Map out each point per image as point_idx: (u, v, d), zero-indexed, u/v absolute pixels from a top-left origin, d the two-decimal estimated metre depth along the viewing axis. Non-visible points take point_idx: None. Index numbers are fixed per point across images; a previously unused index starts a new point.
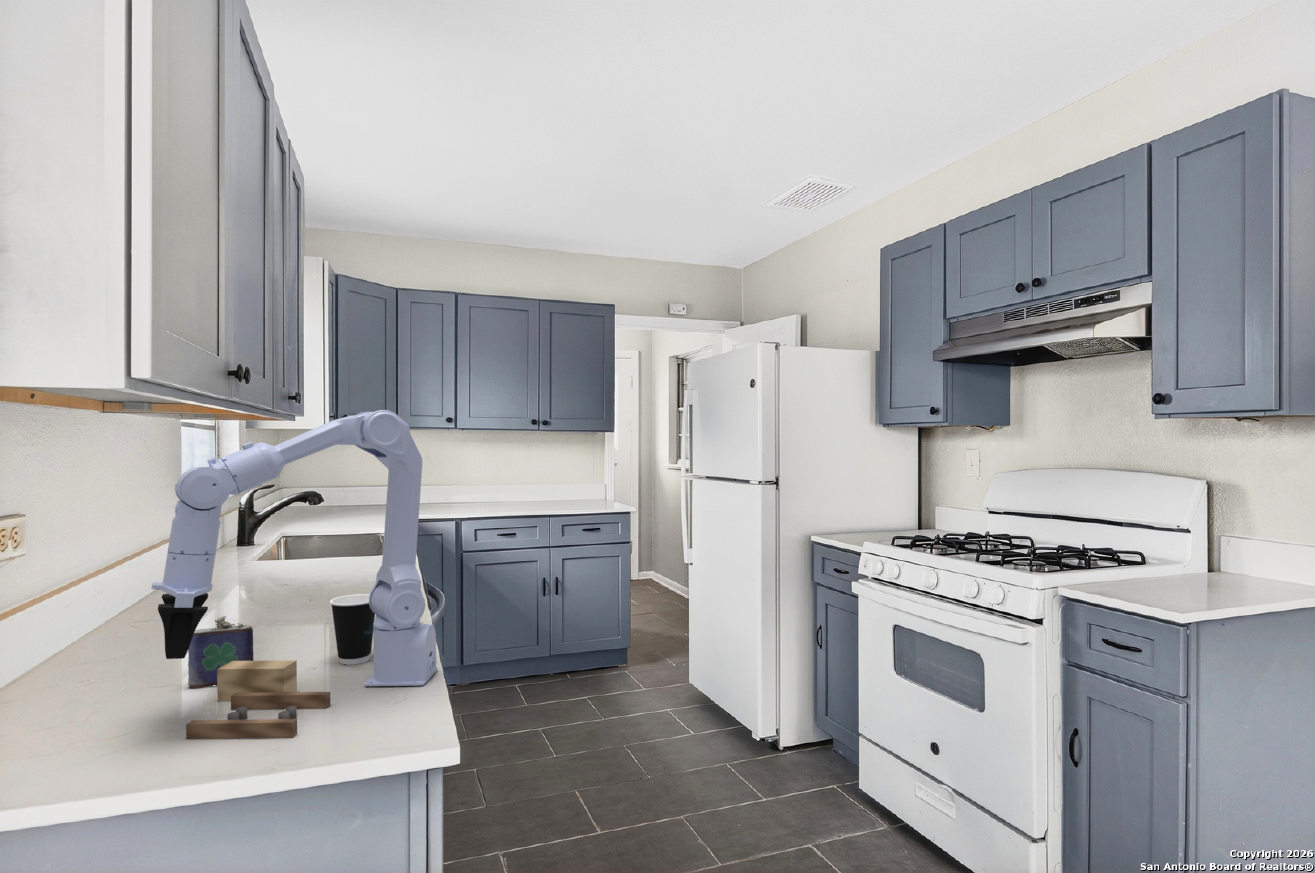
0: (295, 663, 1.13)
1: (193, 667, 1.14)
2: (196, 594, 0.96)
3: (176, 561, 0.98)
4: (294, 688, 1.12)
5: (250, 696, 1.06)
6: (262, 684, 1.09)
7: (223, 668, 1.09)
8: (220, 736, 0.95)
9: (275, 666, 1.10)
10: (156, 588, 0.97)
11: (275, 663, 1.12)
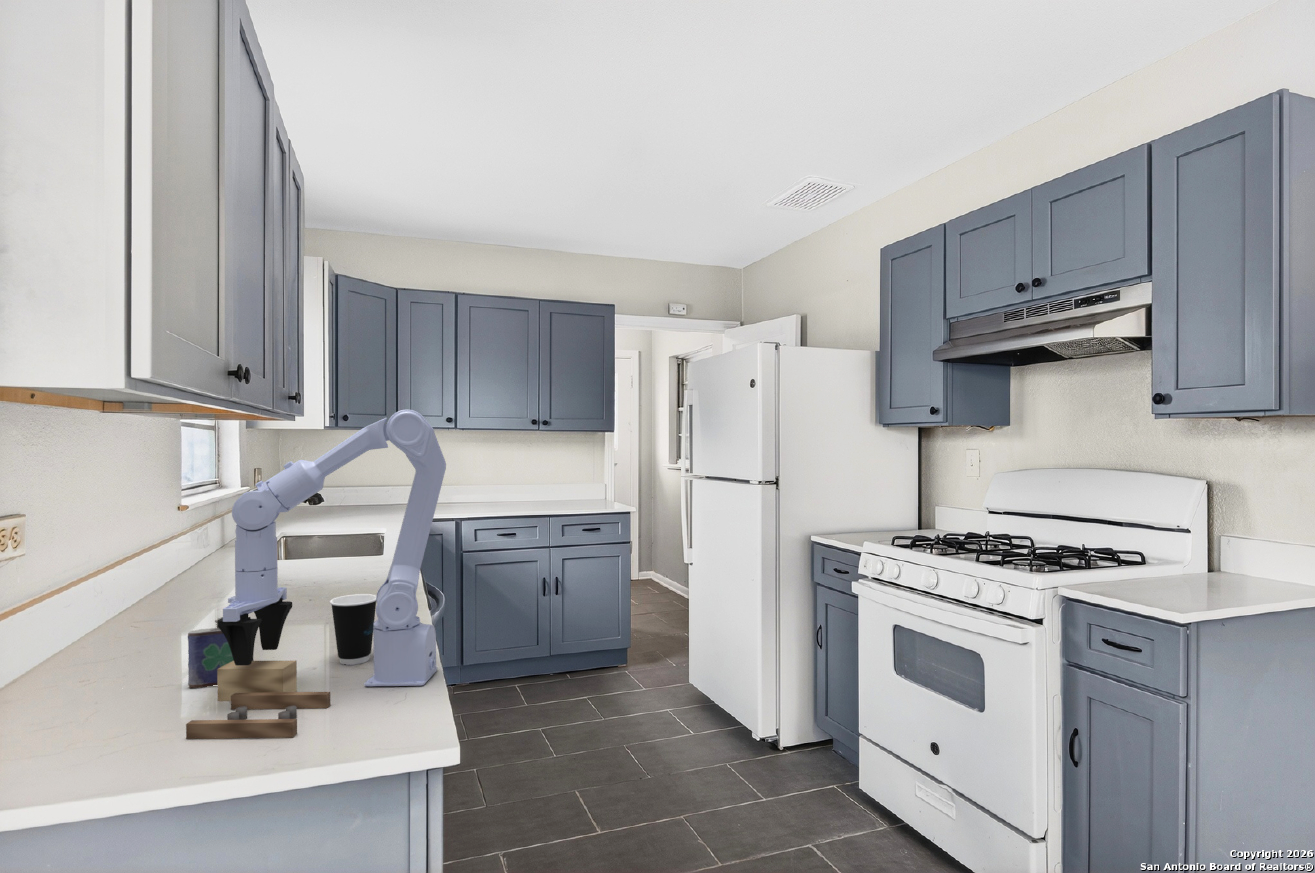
0: (295, 663, 1.13)
1: (193, 667, 1.14)
2: (244, 608, 1.05)
3: (237, 578, 1.09)
4: (294, 689, 1.12)
5: (250, 696, 1.06)
6: (262, 684, 1.09)
7: (223, 668, 1.09)
8: (220, 736, 0.95)
9: (274, 666, 1.10)
10: (230, 602, 1.10)
11: (275, 663, 1.11)
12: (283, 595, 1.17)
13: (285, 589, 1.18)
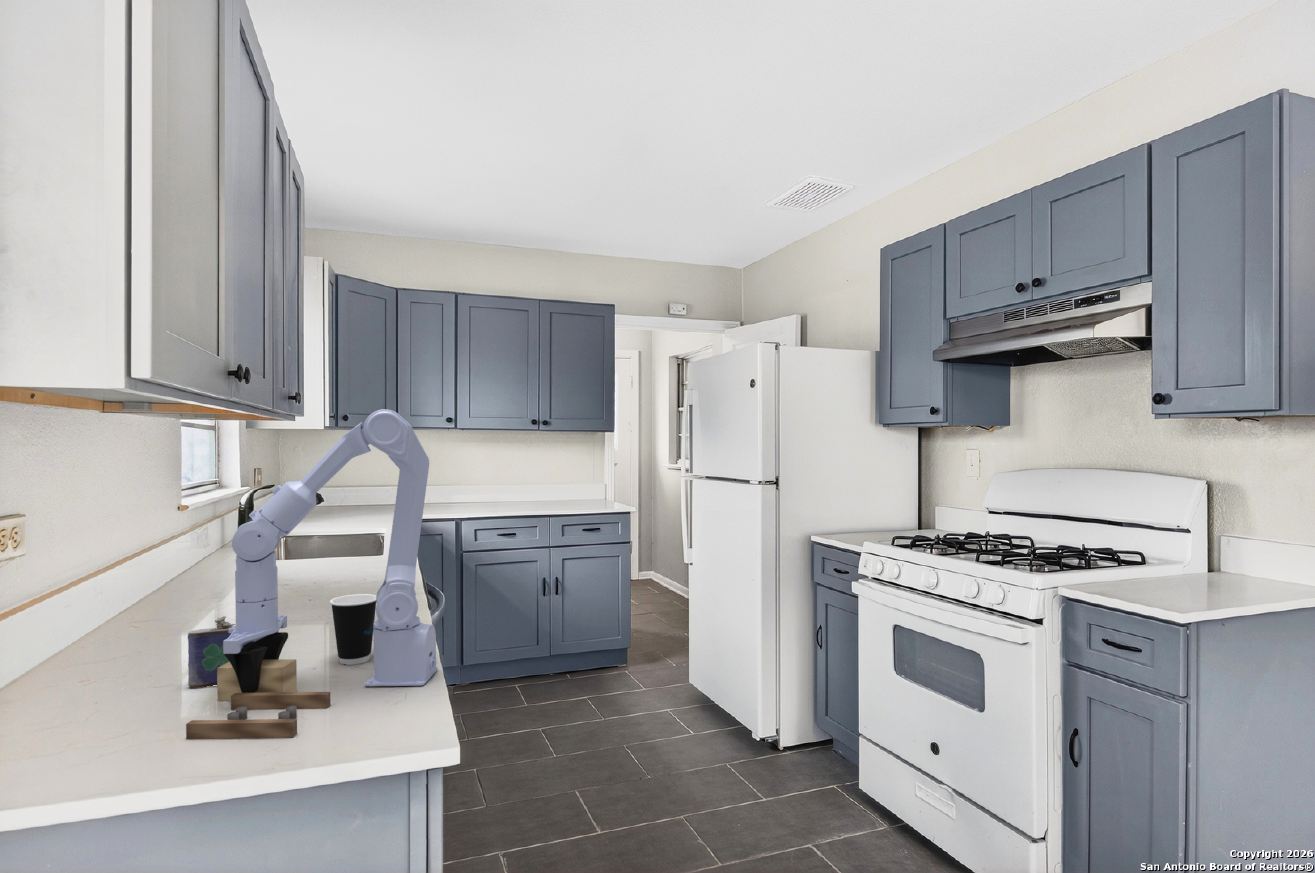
0: (295, 662, 1.13)
1: (193, 667, 1.14)
2: (245, 640, 1.05)
3: (237, 608, 1.09)
4: (294, 688, 1.12)
5: (250, 696, 1.06)
6: (262, 683, 1.09)
7: (223, 667, 1.09)
8: (220, 736, 0.95)
9: (274, 665, 1.10)
10: (231, 632, 1.10)
11: (275, 662, 1.11)
12: (283, 623, 1.17)
13: (285, 617, 1.18)
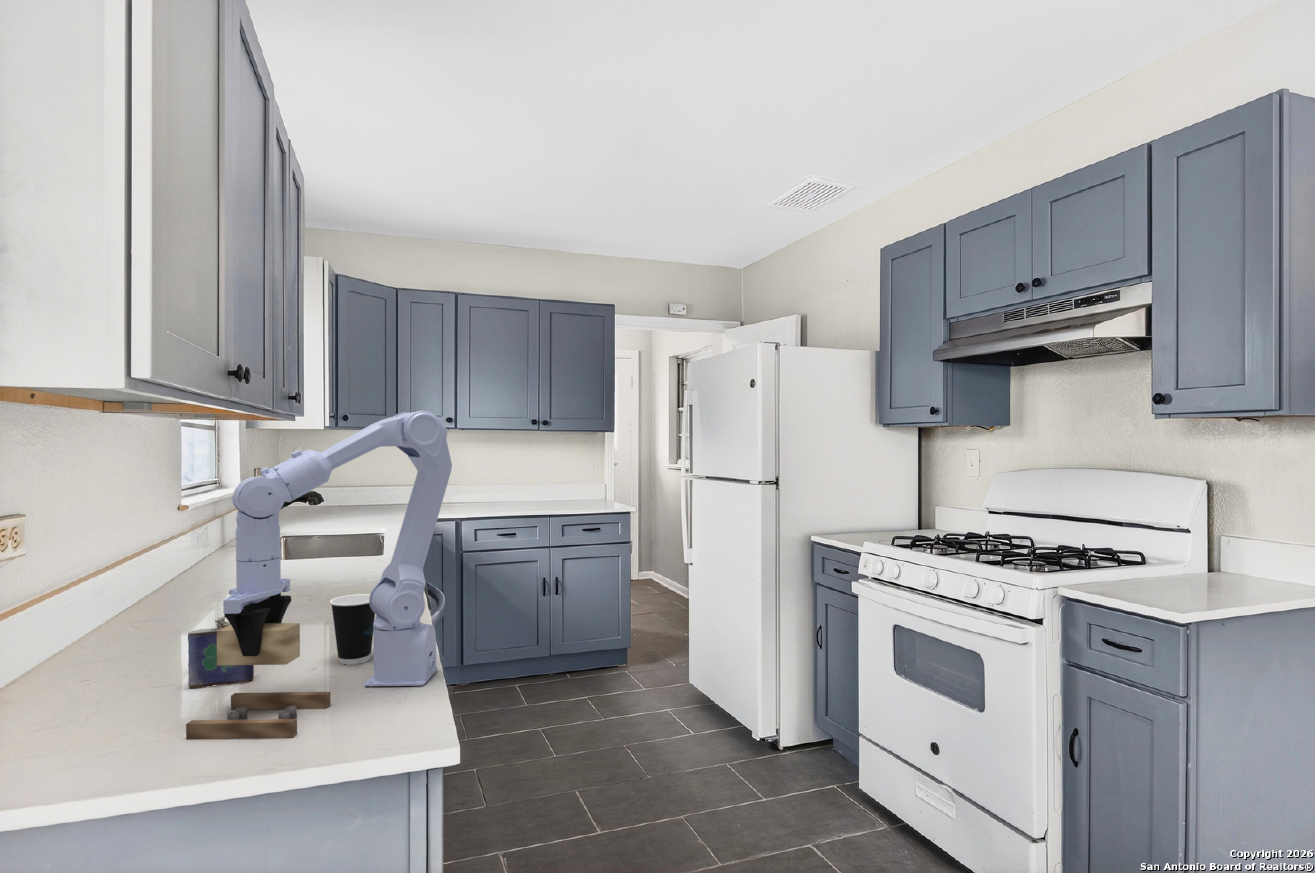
0: (298, 626, 1.08)
1: (193, 667, 1.14)
2: (246, 600, 1.00)
3: (238, 568, 1.04)
4: (297, 652, 1.07)
5: (250, 696, 1.06)
6: (264, 646, 1.04)
7: (223, 630, 1.04)
8: (220, 736, 0.95)
9: (277, 628, 1.05)
10: (231, 593, 1.05)
11: (278, 625, 1.07)
12: (286, 587, 1.12)
13: (288, 580, 1.13)
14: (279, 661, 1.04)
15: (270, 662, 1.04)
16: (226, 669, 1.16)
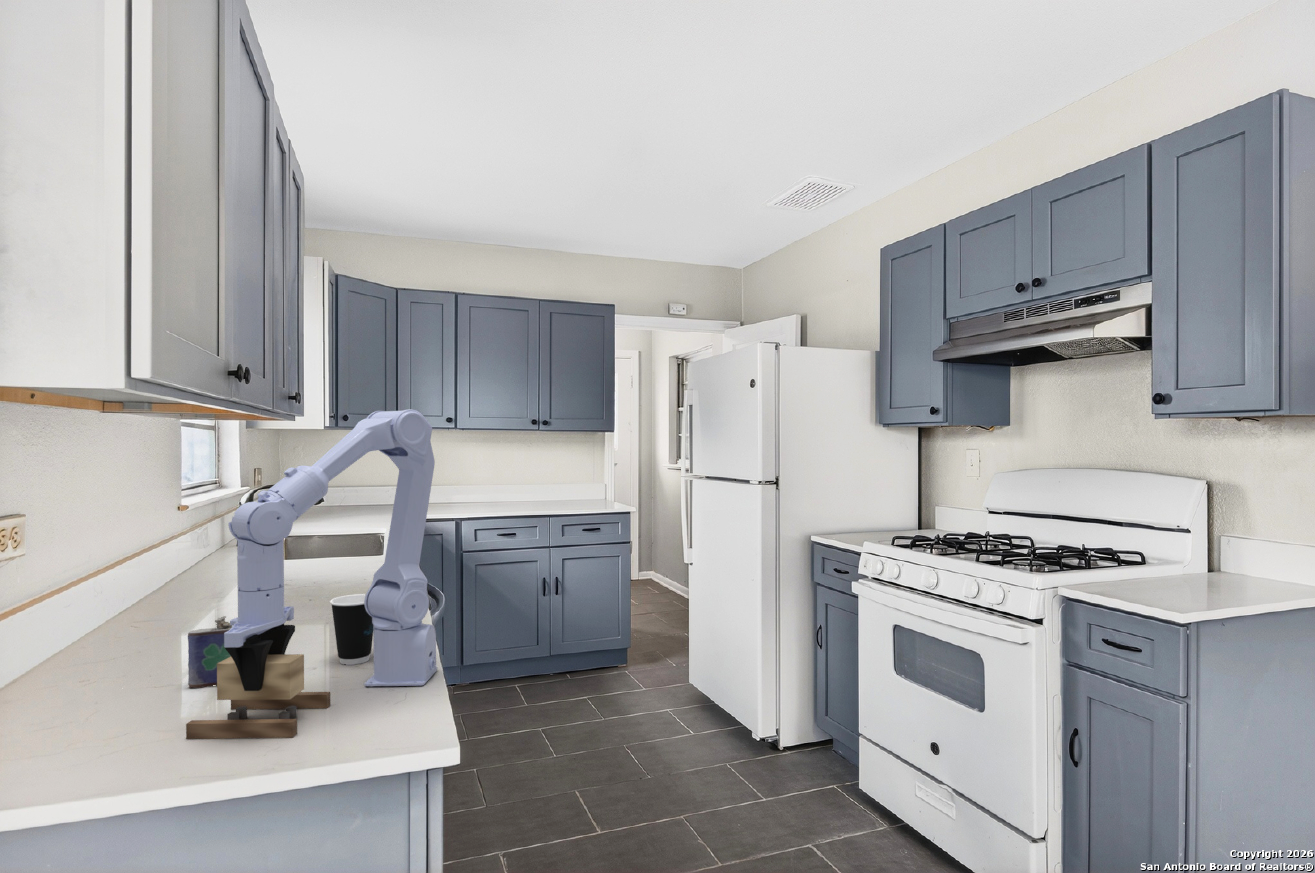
0: (302, 657, 1.03)
1: (193, 667, 1.14)
2: (248, 632, 0.96)
3: (240, 598, 0.99)
4: (301, 685, 1.02)
5: None
6: (266, 680, 0.99)
7: (223, 662, 0.99)
8: (220, 736, 0.95)
9: (280, 660, 1.00)
10: (232, 624, 1.00)
11: (281, 657, 1.02)
12: (290, 615, 1.07)
13: (292, 608, 1.08)
14: (282, 695, 0.99)
15: (273, 697, 0.99)
16: None
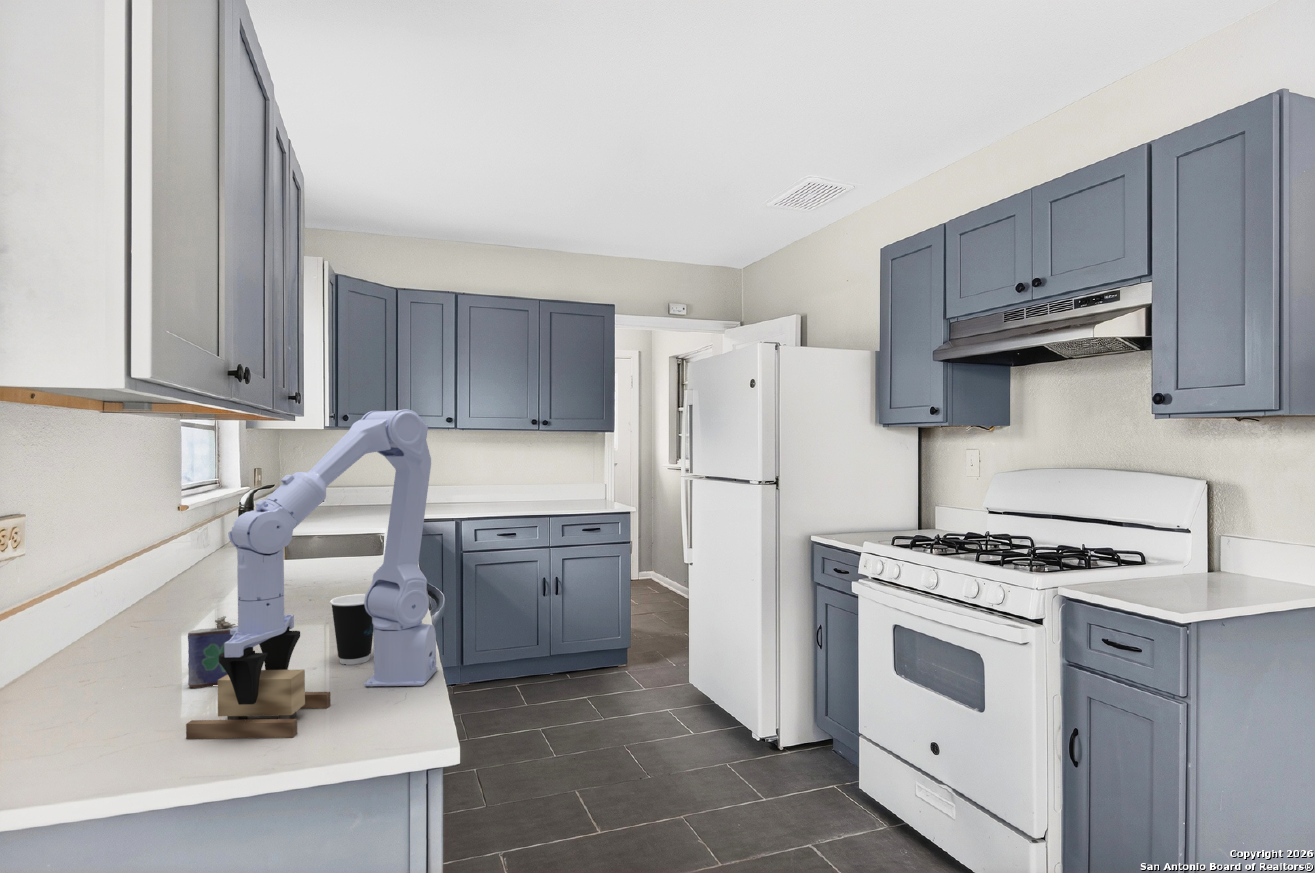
0: (303, 672, 1.03)
1: (193, 667, 1.14)
2: (248, 642, 0.96)
3: (240, 607, 0.99)
4: (302, 700, 1.03)
5: None
6: (268, 696, 0.99)
7: (224, 679, 0.99)
8: (220, 736, 0.95)
9: (281, 676, 1.00)
10: (232, 633, 1.00)
11: (282, 673, 1.02)
12: (290, 624, 1.07)
13: (292, 617, 1.08)
14: (284, 711, 0.99)
15: (274, 712, 0.99)
16: None
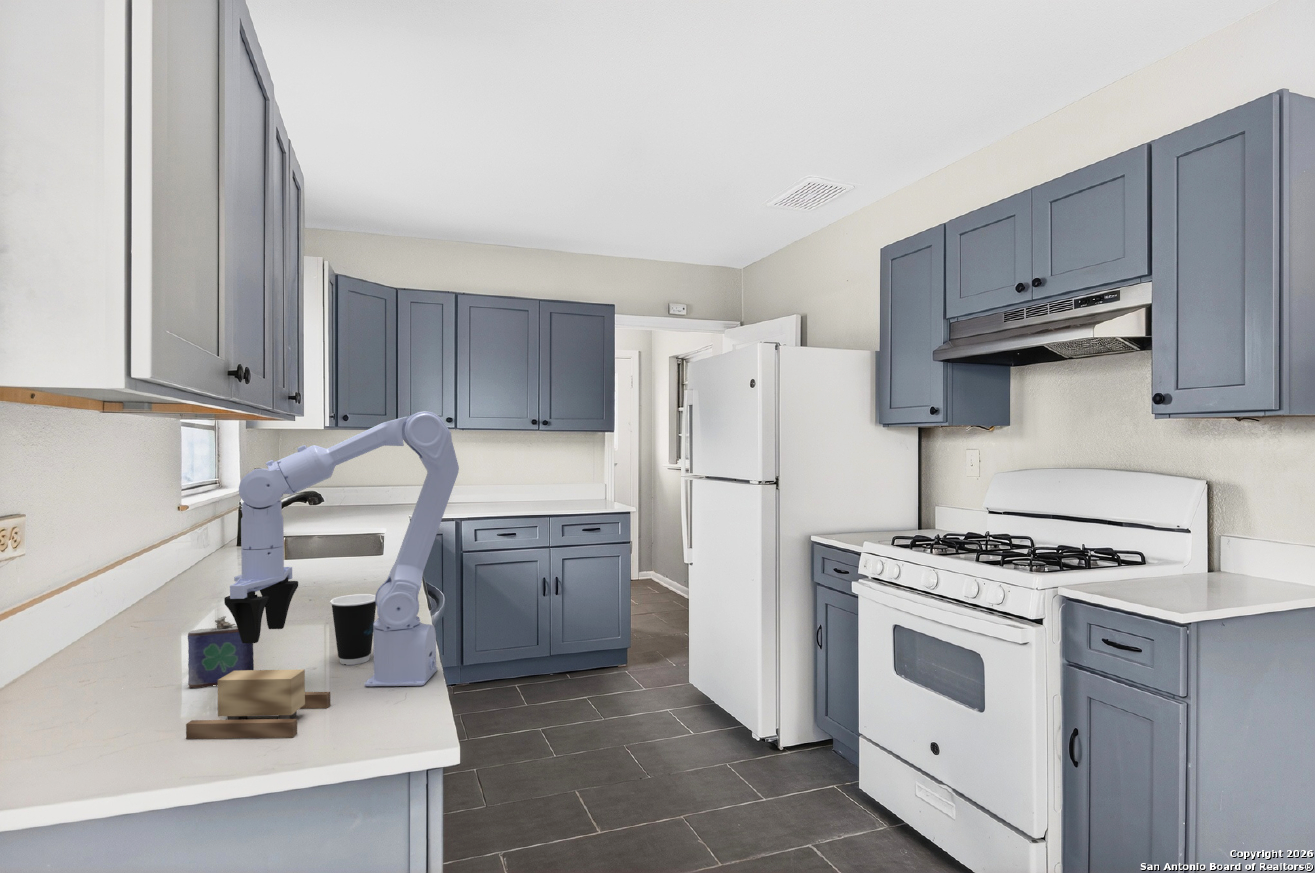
0: (303, 672, 1.03)
1: (193, 667, 1.14)
2: (251, 586, 1.05)
3: (243, 556, 1.08)
4: (302, 700, 1.03)
5: None
6: (268, 696, 0.99)
7: (224, 679, 0.99)
8: (220, 736, 0.95)
9: (281, 676, 1.00)
10: (236, 580, 1.09)
11: (282, 673, 1.02)
12: (289, 575, 1.17)
13: (291, 569, 1.17)
14: (284, 711, 0.99)
15: (274, 712, 0.99)
16: (226, 669, 1.16)
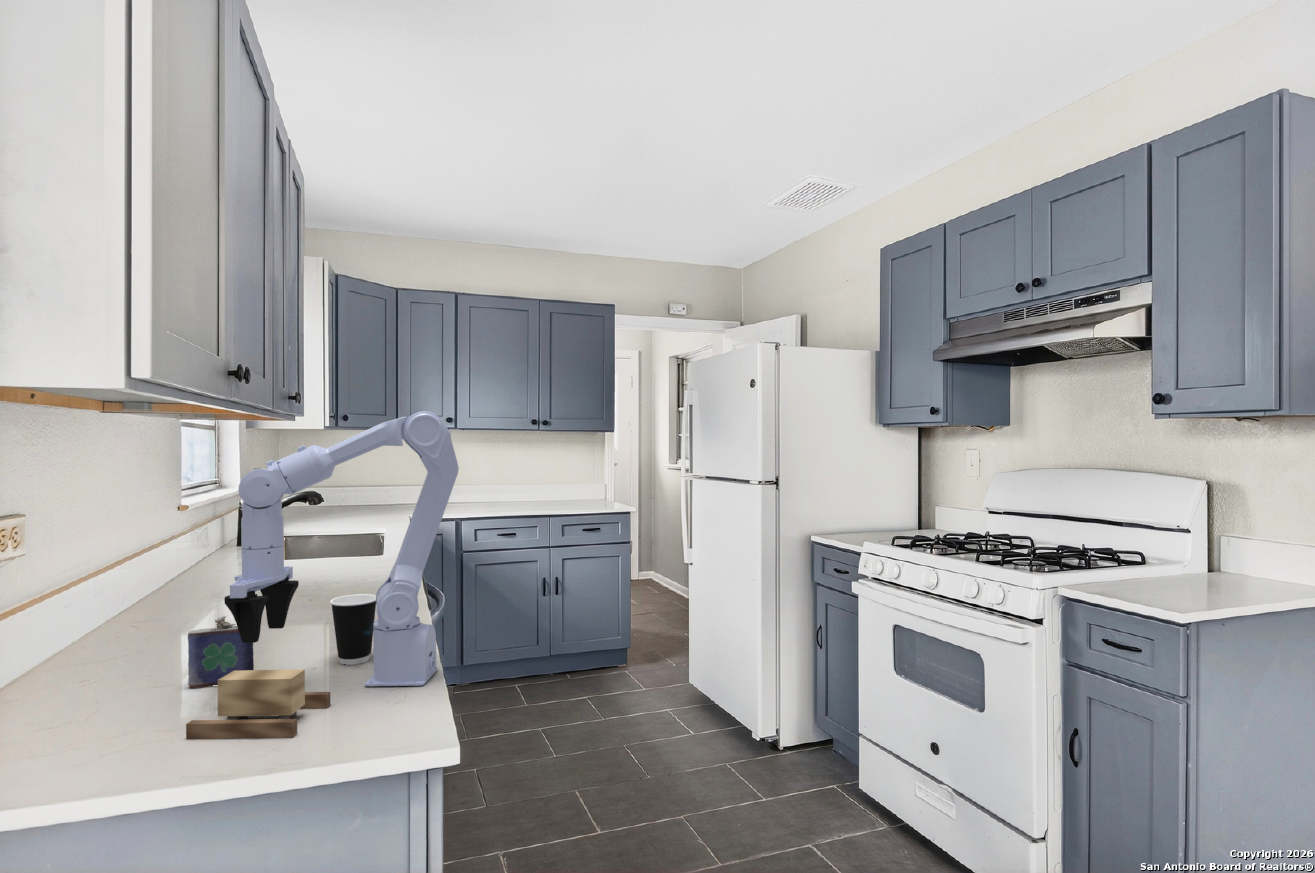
0: (303, 672, 1.03)
1: (193, 667, 1.14)
2: (251, 585, 1.05)
3: (244, 555, 1.09)
4: (302, 700, 1.03)
5: None
6: (268, 696, 0.99)
7: (224, 679, 0.99)
8: (220, 736, 0.95)
9: (281, 676, 1.00)
10: (237, 579, 1.10)
11: (282, 673, 1.02)
12: (289, 574, 1.17)
13: (291, 568, 1.18)
14: (284, 711, 0.99)
15: (274, 712, 0.99)
16: (226, 669, 1.16)
